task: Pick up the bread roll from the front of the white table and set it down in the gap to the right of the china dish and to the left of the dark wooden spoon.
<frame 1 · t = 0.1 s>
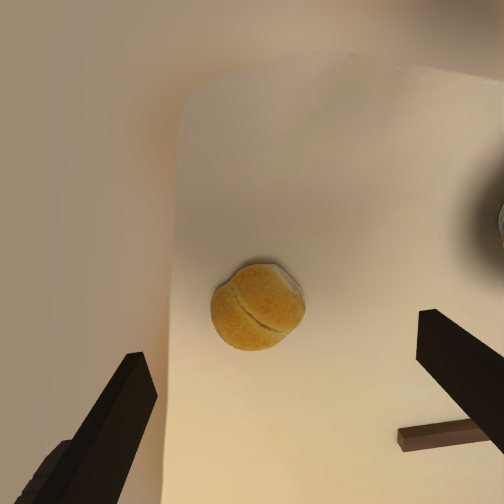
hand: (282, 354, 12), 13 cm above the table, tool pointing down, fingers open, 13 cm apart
bread roll: (257, 299, 26), on the table
wooden spoon: (492, 422, 32), on the table
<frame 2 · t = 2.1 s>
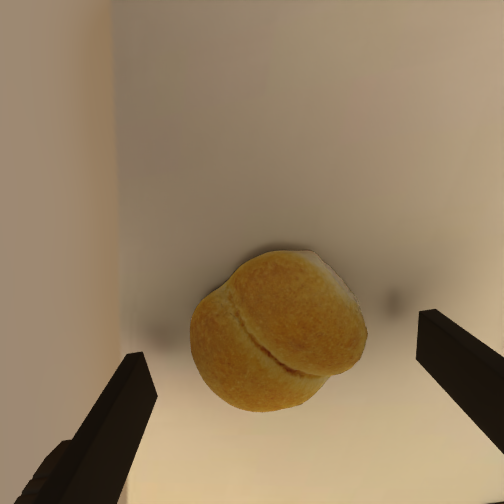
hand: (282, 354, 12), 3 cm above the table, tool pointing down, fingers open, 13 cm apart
bread roll: (274, 315, 15), on the table
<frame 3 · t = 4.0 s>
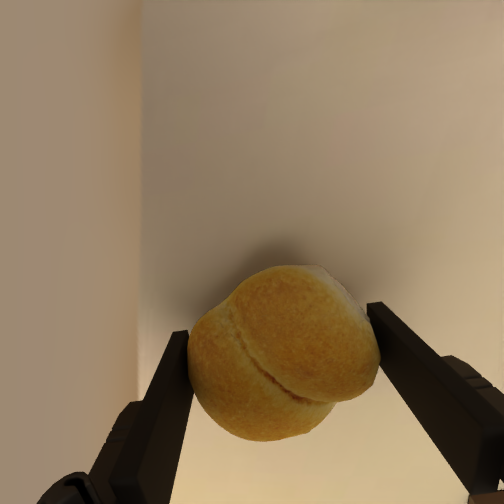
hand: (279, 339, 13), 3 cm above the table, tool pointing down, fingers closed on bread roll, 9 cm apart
bread roll: (278, 332, 14), point 3 cm above the table, touching gripper
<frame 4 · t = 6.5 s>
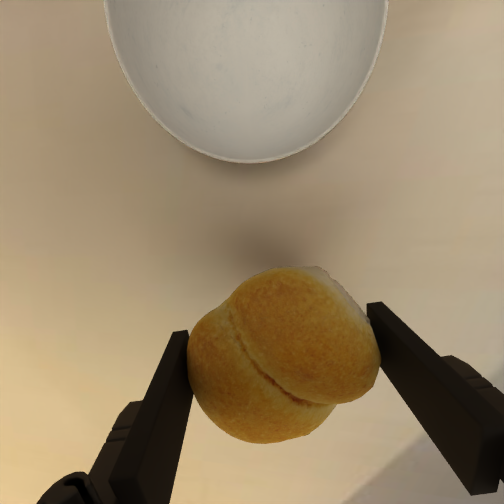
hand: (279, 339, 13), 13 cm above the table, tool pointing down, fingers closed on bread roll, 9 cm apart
chinaware: (246, 69, 21), on the table
bread roll: (278, 334, 14), point 13 cm above the table, touching gripper
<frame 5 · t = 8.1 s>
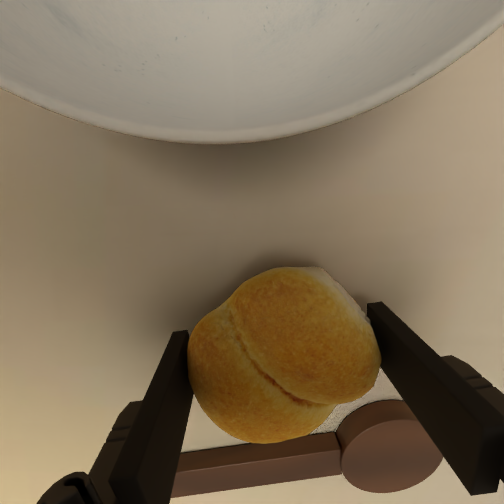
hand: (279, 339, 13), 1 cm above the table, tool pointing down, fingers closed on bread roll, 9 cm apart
bread roll: (279, 334, 14), point 1 cm above the table, touching gripper
wooden spoon: (293, 449, 18), on the table
when the fingers open (0 cm above the table, at t = 9.0 s): bread roll stays where it is, on the table.
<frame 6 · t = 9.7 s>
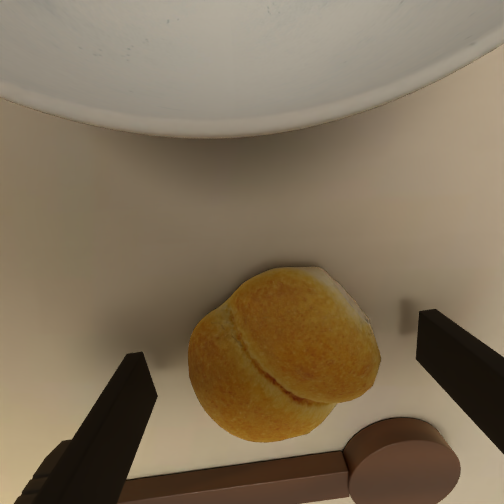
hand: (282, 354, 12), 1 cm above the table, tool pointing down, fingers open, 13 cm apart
bread roll: (279, 333, 14), on the table
wooden spoon: (296, 469, 17), on the table
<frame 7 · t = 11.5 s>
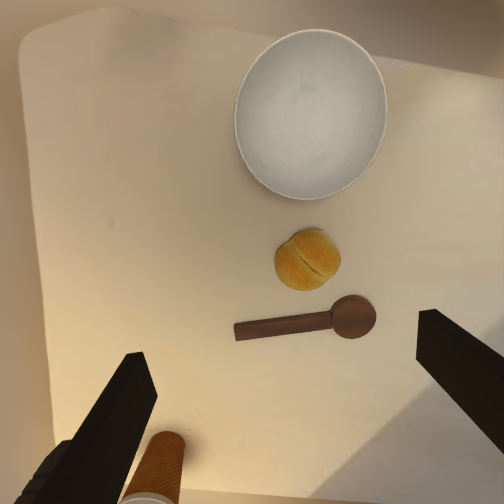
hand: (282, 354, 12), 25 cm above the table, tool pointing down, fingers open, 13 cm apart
chinaware: (295, 134, 32), on the table
bread roll: (305, 257, 37), on the table
wooden spoon: (310, 320, 40), on the table
disposable coffee cup: (167, 443, 47), on the table
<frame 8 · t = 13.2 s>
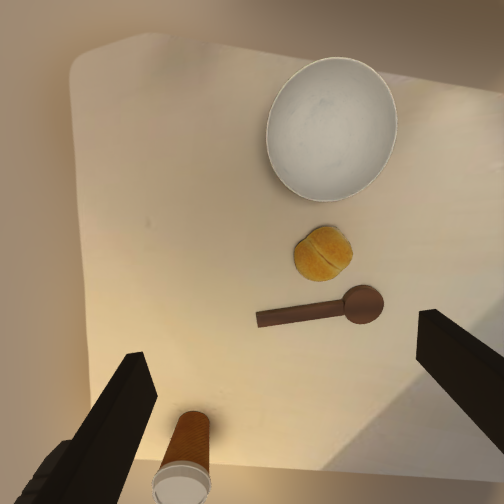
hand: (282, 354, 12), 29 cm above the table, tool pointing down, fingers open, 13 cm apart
chinaware: (313, 142, 36), on the table
bread roll: (320, 251, 41), on the table
wooden spoon: (324, 308, 44), on the table
disposable coffee cup: (194, 421, 51), on the table
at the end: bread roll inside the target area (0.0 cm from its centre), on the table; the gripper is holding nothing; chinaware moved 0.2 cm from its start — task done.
